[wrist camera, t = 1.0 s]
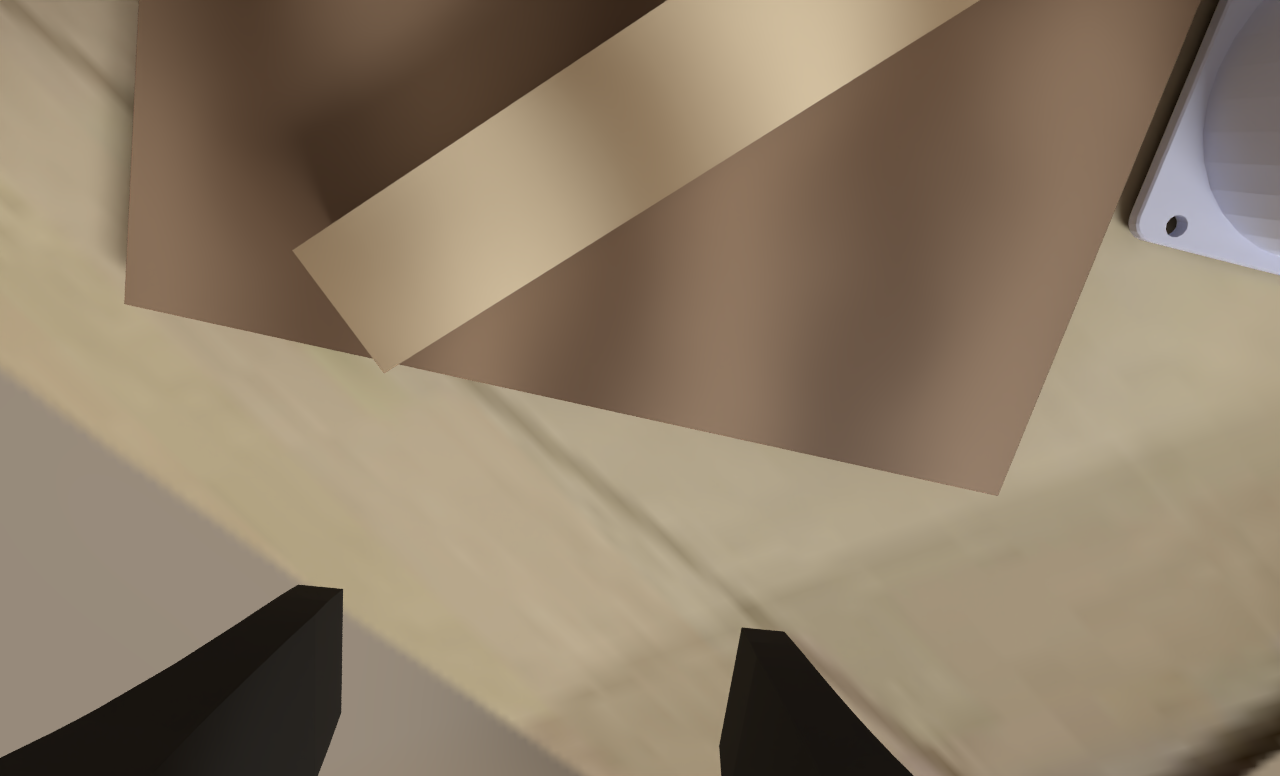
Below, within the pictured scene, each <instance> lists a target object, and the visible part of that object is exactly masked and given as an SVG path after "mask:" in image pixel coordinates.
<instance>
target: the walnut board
mask: <svg viewBox="0 0 1280 776" xmlns="http://www.w3.org/2000/svg"><path fill="white" fill-rule="evenodd" d="M665 1H667V0H139V9H138V30H137V51H136V71H135V92H134V113H133V134H132V155H131V176H130V197H129V218H128V238H127V259H126V280H125V301H124V304H127V305H131V306H136V307H141V308H145V309H150V310H154V311H159V312H163V313H168V314H172V315H177V316H181V317H186V318H191V319H195V320H200V321H204V322H209V323H213V324H218V325H222V326H227V327H232V328H236V329H241V330H245V331H250V332H254V333H259V334H263V335H268V336H272V337H277V338H282V339H286V340H291V341H295V342H300V343H304V344H309V345H313V346H318V347H323V348H327V349H332V350H336V351H341V352H345V353H350V354H354V355H359V356H363V357H368V358H372V357H371V355H370V354H369V353H368V351H367V350H366V349H365V347H364V346H363V345H362V343H361V342H360V341H359V339H358V338H357V336H356V335H355V334H354V332H353V331H352V330H351V328H350V327H349V326H348V324H347V323H346V322H345V320H344V319H343V318H342V316H341V315H340V314H339V312H338V311H337V310H336V308H335V307H334V306H333V304H332V303H331V302H330V300H329V299H328V298H327V296H326V295H325V294H324V292H323V291H322V290H321V288H320V287H319V286H318V284H317V283H316V282H315V280H314V279H313V278H312V276H311V275H310V274H309V272H308V271H307V270H306V268H305V267H304V266H303V264H302V263H301V261H300V260H299V259H298V257H297V256H296V255H295V253H294V252H293V251H292V250H294V249H295V248H297V247H298V246H300V245H301V244H303V243H304V242H306V241H307V240H309V239H310V238H312V237H313V236H315V235H316V234H318V233H319V232H321V231H322V230H324V229H325V228H327V227H328V226H330V225H331V224H333V223H334V222H336V221H337V220H339V219H340V218H342V217H343V216H345V215H346V214H348V213H349V212H351V211H352V210H354V209H355V208H357V207H358V206H360V205H361V204H363V203H364V202H366V201H367V200H369V199H370V198H372V197H373V196H375V195H376V194H378V193H379V192H381V191H382V190H384V189H385V188H387V187H388V186H390V185H391V184H393V183H394V182H396V181H397V180H399V179H400V178H402V177H403V176H405V175H406V174H408V173H409V172H411V171H412V170H414V169H415V168H417V167H418V166H419V165H421V164H422V163H424V162H425V161H427V160H428V159H430V158H431V157H433V156H434V155H436V154H437V153H439V152H440V151H442V150H443V149H445V148H446V147H448V146H449V145H451V144H452V143H454V142H455V141H457V140H458V139H460V138H461V137H463V136H464V135H466V134H467V133H469V132H470V131H472V130H473V129H475V128H476V127H478V126H479V125H481V124H482V123H484V122H485V121H487V120H488V119H490V118H491V117H493V116H494V115H496V114H497V113H499V112H500V111H502V110H503V109H505V108H506V107H508V106H509V105H511V104H512V103H514V102H515V101H517V100H518V99H520V98H521V97H523V96H524V95H526V94H527V93H529V92H530V91H532V90H533V89H535V88H536V87H538V86H539V85H541V84H542V83H544V82H545V81H547V80H548V79H550V78H551V77H553V76H554V75H556V74H557V73H559V72H560V71H562V70H563V69H565V68H566V67H568V66H569V65H571V64H572V63H574V62H575V61H577V60H578V59H580V58H581V57H583V56H584V55H586V54H587V53H589V52H590V51H592V50H593V49H595V48H596V47H598V46H599V45H601V44H602V43H604V42H605V41H607V40H608V39H610V38H611V37H613V36H614V35H616V34H617V33H619V32H620V31H622V30H623V29H625V28H626V27H628V26H629V25H631V24H632V23H634V22H635V21H637V20H638V19H640V18H641V17H643V16H644V15H646V14H647V13H649V12H650V11H652V10H653V9H655V8H656V7H658V6H659V5H661V4H662V3H664V2H665ZM1200 1H1201V0H979V1H978V2H976V3H975V4H973V5H971V6H970V7H968V8H967V9H965V10H963V11H962V12H960V13H959V14H957V15H955V16H954V17H952V18H951V19H949V20H948V21H946V22H944V23H943V24H941V25H940V26H938V27H936V28H935V29H933V30H932V31H930V32H928V33H927V34H925V35H924V36H922V37H920V38H919V39H917V40H916V41H914V42H912V43H911V44H909V45H908V46H906V47H904V48H903V49H901V50H900V51H898V52H896V53H895V54H893V55H892V56H890V57H888V58H887V59H885V60H884V61H882V62H880V63H879V64H877V65H876V66H874V67H872V68H871V69H869V70H868V71H866V72H864V73H863V74H861V75H860V76H858V77H857V78H855V79H853V80H852V81H850V82H849V83H847V84H845V85H844V86H842V87H841V88H839V89H837V90H836V91H834V92H833V93H831V94H829V95H828V96H826V97H825V98H823V99H821V100H820V101H818V102H817V103H815V104H813V105H812V106H810V107H809V108H807V109H805V110H804V111H802V112H801V113H799V114H797V115H796V116H794V117H793V118H791V119H789V120H788V121H786V122H785V123H783V124H781V125H780V126H778V127H777V128H775V129H774V130H772V131H770V132H769V133H767V134H766V135H764V136H762V137H761V138H759V139H758V140H756V141H754V142H753V143H751V144H750V145H748V146H746V147H745V148H743V149H742V150H740V151H738V152H737V153H735V154H734V155H732V156H730V157H729V158H727V159H726V160H724V161H722V162H721V163H719V164H718V165H716V166H714V167H713V168H711V169H710V170H708V171H706V172H705V173H703V174H702V175H700V176H698V177H697V178H695V179H694V180H692V181H690V182H689V183H687V184H686V185H684V186H683V187H681V188H679V189H678V190H676V191H675V192H673V193H671V194H670V195H668V196H667V197H665V198H663V199H662V200H660V201H659V202H657V203H655V204H654V205H652V206H651V207H649V208H647V209H646V210H644V211H643V212H641V213H639V214H638V215H636V216H635V217H633V218H631V219H630V220H628V221H627V222H625V223H623V224H622V225H620V226H619V227H617V228H615V229H614V230H612V231H611V232H609V233H607V234H606V235H604V236H603V237H601V238H599V239H598V240H596V241H595V242H593V243H592V244H590V245H588V246H587V247H585V248H584V249H582V250H580V251H579V252H577V253H576V254H574V255H572V256H571V257H569V258H568V259H566V260H564V261H563V262H561V263H560V264H558V265H556V266H555V267H553V268H552V269H550V270H548V271H547V272H545V273H544V274H542V275H540V276H539V277H537V278H536V279H534V280H532V281H531V282H529V283H528V284H526V285H524V286H523V287H521V288H520V289H518V290H516V291H515V292H513V293H512V294H510V295H508V296H507V297H505V298H504V299H502V300H501V301H499V302H497V303H496V304H494V305H493V306H491V307H489V308H488V309H486V310H485V311H483V312H481V313H480V314H478V315H477V316H475V317H473V318H472V319H470V320H469V321H467V322H465V323H464V324H462V325H461V326H459V327H457V328H456V329H454V330H453V331H451V332H449V333H448V334H446V335H445V336H443V337H441V338H440V339H438V340H437V341H435V342H433V343H432V344H430V345H429V346H427V347H425V348H424V349H422V350H421V351H419V352H417V353H416V354H414V355H413V356H411V357H410V358H408V359H406V360H405V361H403V362H402V363H400V365H404V366H409V367H414V368H418V369H423V370H427V371H432V372H436V373H441V374H445V375H450V376H454V377H459V378H464V379H468V380H473V381H477V382H482V383H486V384H491V385H495V386H500V387H505V388H509V389H514V390H518V391H523V392H527V393H532V394H536V395H541V396H545V397H550V398H555V399H559V400H564V401H568V402H573V403H577V404H582V405H586V406H591V407H596V408H600V409H605V410H609V411H614V412H618V413H623V414H627V415H632V416H636V417H641V418H646V419H650V420H655V421H659V422H664V423H668V424H673V425H677V426H682V427H687V428H691V429H696V430H700V431H705V432H709V433H714V434H718V435H723V436H727V437H732V438H737V439H741V440H746V441H750V442H755V443H759V444H764V445H768V446H773V447H778V448H782V449H787V450H791V451H796V452H800V453H805V454H809V455H814V456H818V457H823V458H828V459H832V460H837V461H841V462H846V463H850V464H855V465H859V466H864V467H869V468H873V469H878V470H882V471H887V472H891V473H896V474H900V475H905V476H909V477H914V478H919V479H923V480H928V481H932V482H937V483H941V484H946V485H950V486H955V487H960V488H964V489H969V490H973V491H978V492H982V493H987V494H991V495H996V496H998V494H999V492H1000V490H1001V487H1002V485H1003V482H1004V480H1005V477H1006V475H1007V472H1008V470H1009V468H1010V465H1011V463H1012V460H1013V458H1014V455H1015V453H1016V451H1017V448H1018V446H1019V443H1020V441H1021V438H1022V436H1023V433H1024V431H1025V429H1026V426H1027V424H1028V421H1029V419H1030V416H1031V414H1032V411H1033V409H1034V407H1035V404H1036V402H1037V399H1038V397H1039V394H1040V392H1041V389H1042V387H1043V385H1044V382H1045V380H1046V377H1047V375H1048V372H1049V370H1050V368H1051V365H1052V363H1053V360H1054V358H1055V355H1056V353H1057V350H1058V348H1059V346H1060V343H1061V341H1062V338H1063V336H1064V333H1065V331H1066V328H1067V326H1068V324H1069V321H1070V319H1071V316H1072V314H1073V311H1074V309H1075V306H1076V304H1077V302H1078V299H1079V297H1080V294H1081V292H1082V289H1083V287H1084V284H1085V282H1086V280H1087V277H1088V275H1089V272H1090V270H1091V267H1092V265H1093V263H1094V260H1095V258H1096V255H1097V253H1098V250H1099V248H1100V245H1101V243H1102V241H1103V238H1104V236H1105V233H1106V231H1107V228H1108V226H1109V223H1110V221H1111V219H1112V216H1113V214H1114V211H1115V209H1116V206H1117V204H1118V201H1119V199H1120V197H1121V194H1122V192H1123V189H1124V187H1125V184H1126V182H1127V180H1128V177H1129V175H1130V172H1131V170H1132V167H1133V165H1134V162H1135V160H1136V158H1137V155H1138V153H1139V150H1140V148H1141V145H1142V143H1143V140H1144V138H1145V136H1146V133H1147V131H1148V128H1149V126H1150V123H1151V121H1152V118H1153V116H1154V114H1155V111H1156V109H1157V106H1158V104H1159V101H1160V99H1161V97H1162V94H1163V92H1164V89H1165V87H1166V84H1167V82H1168V79H1169V77H1170V75H1171V72H1172V70H1173V67H1174V65H1175V62H1176V60H1177V57H1178V55H1179V53H1180V50H1181V48H1182V45H1183V43H1184V40H1185V38H1186V35H1187V33H1188V31H1189V28H1190V26H1191V23H1192V21H1193V18H1194V16H1195V13H1196V11H1197V9H1198V6H1199V4H1200Z"/></svg>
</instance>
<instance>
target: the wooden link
mask: <svg viewBox="0 0 1280 776" xmlns="http://www.w3.org/2000/svg"><path fill="white" fill-rule="evenodd" d="M978 1H979V0H667V1H665V2H664V3H662V4H661V5H659V6H658V7H656V8H655V9H653V10H652V11H650V12H649V13H647V14H646V15H644V16H643V17H641V18H640V19H638V20H637V21H635V22H634V23H632V24H631V25H629V26H628V27H626V28H625V29H623V30H622V31H620V32H619V33H617V34H616V35H614V36H613V37H611V38H610V39H608V40H607V41H605V42H604V43H602V44H601V45H599V46H598V47H596V48H595V49H593V50H592V51H590V52H589V53H587V54H586V55H584V56H583V57H581V58H580V59H578V60H577V61H575V62H574V63H572V64H571V65H569V66H568V67H566V68H565V69H563V70H562V71H560V72H559V73H557V74H556V75H554V76H553V77H551V78H550V79H548V80H547V81H545V82H544V83H542V84H541V85H539V86H538V87H536V88H535V89H533V90H532V91H530V92H529V93H527V94H526V95H524V96H523V97H521V98H520V99H518V100H517V101H515V102H514V103H512V104H511V105H509V106H508V107H506V108H505V109H503V110H502V111H500V112H499V113H497V114H496V115H494V116H493V117H491V118H490V119H488V120H487V121H485V122H484V123H482V124H481V125H479V126H478V127H476V128H475V129H473V130H472V131H470V132H469V133H467V134H466V135H464V136H463V137H461V138H460V139H458V140H457V141H455V142H454V143H452V144H451V145H449V146H448V147H446V148H445V149H443V150H442V151H440V152H439V153H437V154H436V155H434V156H433V157H431V158H430V159H428V160H427V161H425V162H424V163H422V164H421V165H419V166H418V167H417V168H415V169H414V170H412V171H411V172H409V173H408V174H406V175H405V176H403V177H402V178H400V179H399V180H397V181H396V182H394V183H393V184H391V185H390V186H388V187H387V188H385V189H384V190H382V191H381V192H379V193H378V194H376V195H375V196H373V197H372V198H370V199H369V200H367V201H366V202H364V203H363V204H361V205H360V206H358V207H357V208H355V209H354V210H352V211H351V212H349V213H348V214H346V215H345V216H343V217H342V218H340V219H339V220H337V221H336V222H334V223H333V224H331V225H330V226H328V227H327V228H325V229H324V230H322V231H321V232H319V233H318V234H316V235H315V236H313V237H312V238H310V239H309V240H307V241H306V242H304V243H303V244H301V245H300V246H298V247H297V248H295V249H294V250H292V251H293V252H294V253H295V255H296V256H297V257H298V259H299V260H300V261H301V263H302V264H303V266H304V267H305V268H306V270H307V271H308V272H309V274H310V275H311V276H312V278H313V279H314V280H315V282H316V283H317V284H318V286H319V287H320V288H321V290H322V291H323V292H324V294H325V295H326V296H327V298H328V299H329V300H330V302H331V303H332V304H333V306H334V307H335V308H336V310H337V311H338V312H339V314H340V315H341V316H342V318H343V319H344V320H345V322H346V323H347V324H348V326H349V327H350V328H351V330H352V331H353V332H354V334H355V335H356V336H357V338H358V339H359V341H360V342H361V343H362V345H363V346H364V347H365V349H366V350H367V351H368V353H369V354H370V355H371V357H372V358H373V359H374V361H375V362H376V363H377V365H378V366H379V367H380V369H381V370H382V371H383V373H386V372H387V371H389V370H390V369H392V368H394V367H395V366H397V365H398V364H400V363H402V362H403V361H405V360H406V359H408V358H410V357H411V356H413V355H414V354H416V353H417V352H419V351H421V350H422V349H424V348H425V347H427V346H429V345H430V344H432V343H433V342H435V341H437V340H438V339H440V338H441V337H443V336H445V335H446V334H448V333H449V332H451V331H453V330H454V329H456V328H457V327H459V326H461V325H462V324H464V323H465V322H467V321H469V320H470V319H472V318H473V317H475V316H477V315H478V314H480V313H481V312H483V311H485V310H486V309H488V308H489V307H491V306H493V305H494V304H496V303H497V302H499V301H501V300H502V299H504V298H505V297H507V296H508V295H510V294H512V293H513V292H515V291H516V290H518V289H520V288H521V287H523V286H524V285H526V284H528V283H529V282H531V281H532V280H534V279H536V278H537V277H539V276H540V275H542V274H544V273H545V272H547V271H548V270H550V269H552V268H553V267H555V266H556V265H558V264H560V263H561V262H563V261H564V260H566V259H568V258H569V257H571V256H572V255H574V254H576V253H577V252H579V251H580V250H582V249H584V248H585V247H587V246H588V245H590V244H592V243H593V242H595V241H596V240H598V239H599V238H601V237H603V236H604V235H606V234H607V233H609V232H611V231H612V230H614V229H615V228H617V227H619V226H620V225H622V224H623V223H625V222H627V221H628V220H630V219H631V218H633V217H635V216H636V215H638V214H639V213H641V212H643V211H644V210H646V209H647V208H649V207H651V206H652V205H654V204H655V203H657V202H659V201H660V200H662V199H663V198H665V197H667V196H668V195H670V194H671V193H673V192H675V191H676V190H678V189H679V188H681V187H683V186H684V185H686V184H687V183H689V182H690V181H692V180H694V179H695V178H697V177H698V176H700V175H702V174H703V173H705V172H706V171H708V170H710V169H711V168H713V167H714V166H716V165H718V164H719V163H721V162H722V161H724V160H726V159H727V158H729V157H730V156H732V155H734V154H735V153H737V152H738V151H740V150H742V149H743V148H745V147H746V146H748V145H750V144H751V143H753V142H754V141H756V140H758V139H759V138H761V137H762V136H764V135H766V134H767V133H769V132H770V131H772V130H774V129H775V128H777V127H778V126H780V125H781V124H783V123H785V122H786V121H788V120H789V119H791V118H793V117H794V116H796V115H797V114H799V113H801V112H802V111H804V110H805V109H807V108H809V107H810V106H812V105H813V104H815V103H817V102H818V101H820V100H821V99H823V98H825V97H826V96H828V95H829V94H831V93H833V92H834V91H836V90H837V89H839V88H841V87H842V86H844V85H845V84H847V83H849V82H850V81H852V80H853V79H855V78H857V77H858V76H860V75H861V74H863V73H864V72H866V71H868V70H869V69H871V68H872V67H874V66H876V65H877V64H879V63H880V62H882V61H884V60H885V59H887V58H888V57H890V56H892V55H893V54H895V53H896V52H898V51H900V50H901V49H903V48H904V47H906V46H908V45H909V44H911V43H912V42H914V41H916V40H917V39H919V38H920V37H922V36H924V35H925V34H927V33H928V32H930V31H932V30H933V29H935V28H936V27H938V26H940V25H941V24H943V23H944V22H946V21H948V20H949V19H951V18H952V17H954V16H955V15H957V14H959V13H960V12H962V11H963V10H965V9H967V8H968V7H970V6H971V5H973V4H975V3H976V2H978Z"/></svg>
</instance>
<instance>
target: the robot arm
mask: <svg viewBox="0 0 1280 776" xmlns="http://www.w3.org/2000/svg"><path fill="white" fill-rule="evenodd" d="M1174 216H1175V217H1176V220H1177V225H1176V228H1175V229H1174V231H1173V232H1172V233H1170V234H1167V231H1166V225H1167V222H1168V221H1169V220H1170V218H1172V217H1174ZM1128 224H1129V230H1130V232H1131V233H1132V235H1133V236H1134V237H1136V238H1138V239H1140V240H1143V241H1147V242H1151V243H1155V244H1158V245H1162V246H1166V247H1170V248H1174V249H1178V250H1182V251H1186V252H1190V253H1194V254H1198V255H1202V256H1205V257H1209V258H1213V259H1217V260H1221V261H1225V262H1229V263H1233V264H1237V265H1241V266H1245V267H1249V268H1253V269H1256V270H1260V271H1264V272H1268V273H1272V274H1276V275H1280V0H1219V3H1218V5H1217V7H1216V10H1215V12H1214V15H1213V17H1212V19H1211V22H1210V24H1209V27H1208V29H1207V31H1206V34H1205V36H1204V39H1203V41H1202V43H1201V46H1200V48H1199V51H1198V53H1197V55H1196V58H1195V60H1194V63H1193V65H1192V67H1191V70H1190V72H1189V75H1188V77H1187V80H1186V82H1185V84H1184V87H1183V89H1182V92H1181V94H1180V96H1179V99H1178V101H1177V104H1176V106H1175V108H1174V111H1173V113H1172V116H1171V118H1170V120H1169V123H1168V125H1167V128H1166V130H1165V132H1164V135H1163V137H1162V140H1161V142H1160V144H1159V147H1158V149H1157V152H1156V154H1155V156H1154V159H1153V161H1152V164H1151V166H1150V168H1149V171H1148V173H1147V176H1146V178H1145V180H1144V183H1143V185H1142V188H1141V190H1140V193H1139V195H1138V197H1137V200H1136V202H1135V205H1134V207H1133V209H1132V212H1131V214H1130V218H1129V222H1128ZM342 622H343V589H337V588H326V587H316V586H306V585H297V586H295V587H294V588H292V589H290V590H289V591H287V592H285V593H284V594H282V595H280V596H279V597H277V598H276V599H274V600H273V601H271V602H270V603H268V604H267V605H265V606H264V607H262V608H261V609H259V610H257V611H256V612H254V613H253V614H251V615H250V616H248V617H247V618H245V619H244V620H242V621H241V622H239V623H238V624H236V625H235V626H233V627H232V628H230V629H229V630H227V631H225V632H224V633H222V634H221V635H219V636H218V637H216V638H214V639H213V640H211V641H210V642H208V643H207V644H205V645H203V646H202V647H200V648H199V649H197V650H196V651H195V652H193V653H191V654H189V655H188V656H186V657H185V658H183V659H182V660H180V661H178V662H177V663H175V664H174V665H172V666H170V667H168V668H167V669H165V670H163V671H162V672H160V673H158V674H156V675H155V676H153V677H151V678H149V679H148V680H146V681H145V682H143V683H141V684H139V685H137V686H136V687H134V688H132V689H131V690H129V691H127V692H125V693H124V694H122V695H120V696H119V697H117V698H115V699H113V700H112V701H110V702H108V703H107V704H105V705H103V706H101V707H100V708H98V709H96V710H94V711H92V712H90V713H89V714H87V715H85V716H83V717H81V718H79V719H77V720H76V721H74V722H72V723H70V724H68V725H66V726H64V727H62V728H61V729H58V730H56V731H54V732H53V733H51V734H49V735H46V736H44V737H42V738H40V739H38V740H36V741H34V742H32V743H30V744H28V745H26V746H24V747H22V748H20V749H18V750H15V751H13V752H11V753H9V754H7V755H5V756H3V757H1V758H0V776H318V773H319V771H320V768H321V766H322V763H323V761H324V758H325V756H326V753H327V750H328V747H329V745H330V742H331V739H332V736H333V734H334V731H335V728H336V725H337V723H338V719H339V717H340V714H341V690H342V686H341V685H342ZM719 749H720V763H721V776H913V775H912V774H911V773H910V772H909V771H908V770H907V769H906V768H905V767H904V766H903V765H902V764H901V763H900V762H899V761H898V760H897V759H896V758H895V757H894V756H893V755H892V754H891V753H890V752H889V751H888V750H887V749H886V747H885V746H884V745H883V744H882V743H881V742H880V741H879V740H878V739H877V738H876V737H875V736H874V735H873V734H872V733H871V732H870V730H869V729H868V728H867V727H866V726H865V725H864V724H863V723H862V722H861V721H860V720H859V718H858V717H857V716H856V715H855V714H854V713H853V712H852V711H851V709H850V708H849V707H848V706H847V705H846V704H845V703H844V701H843V700H842V699H841V698H840V697H839V696H838V695H837V693H836V692H835V691H834V690H833V689H832V688H831V686H830V685H829V684H828V683H827V682H826V681H825V679H824V678H823V677H822V676H821V675H820V673H819V672H818V671H817V670H816V669H815V667H814V666H813V665H812V664H811V663H810V661H809V660H808V659H807V658H806V657H805V655H804V654H803V653H802V652H801V651H800V649H799V648H798V647H797V646H796V645H795V644H794V642H793V641H792V640H791V639H790V638H789V637H788V635H787V634H786V633H785V632H782V631H771V630H761V629H751V628H742V629H741V634H740V639H739V645H738V650H737V655H736V660H735V666H734V671H733V676H732V682H731V687H730V692H729V697H728V703H727V708H726V713H725V718H724V724H723V729H722V734H721V740H720V745H719Z"/></svg>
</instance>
